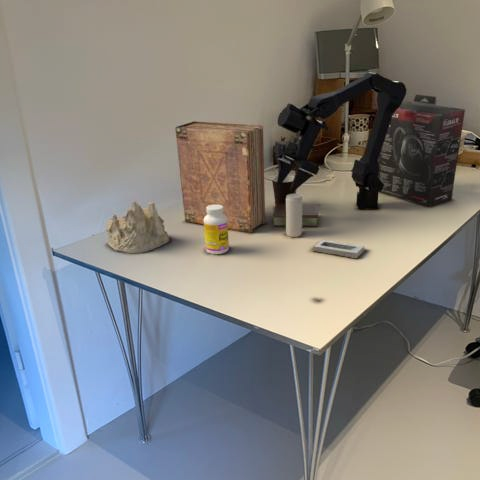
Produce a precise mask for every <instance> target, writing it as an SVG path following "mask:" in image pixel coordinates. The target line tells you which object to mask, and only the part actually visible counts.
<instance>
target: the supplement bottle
mask: <svg viewBox="0 0 480 480" xmlns="http://www.w3.org/2000/svg"><path fill="white" fill-rule="evenodd" d="M206 212H207V215H206V216H205V217H204V225H203V228H204V229H203V230H204V231H203V232H204V244H205V251H206V253H208V254H212V255H222V254H226V253H227V252H228V251H229V249H230V245H229V243H230V241H229V229H228V221H227V217H226V215H224V214H223V206H222V205H217V204H215V205H209V206H207V207H206Z"/></svg>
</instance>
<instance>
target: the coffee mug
mask: <svg viewBox="0 0 480 480" xmlns="http://www.w3.org/2000/svg"><path fill="white" fill-rule="evenodd" d="M294 177H295V175H293V174H292V175H289V174H288V175H287V177H286V178H285V179H284V181H283V182H282V183H281V184H280V185H279V184H277V179H278V175H276V176H274V177H272V178H271V182H272V190H273V197H274V198H273V199H274V205H275V206H276V204H286V196H287V195H288V194H297V189H298V188H297V189H296V190H295V191H294V192H291V191H290V189H291V185H292V182H293V180H294ZM275 206H274V207H275Z"/></svg>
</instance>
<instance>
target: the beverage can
mask: <svg viewBox="0 0 480 480" xmlns="http://www.w3.org/2000/svg"><path fill="white" fill-rule="evenodd" d="M302 204H303V195H302V194H301V193H296V194H288V195H287V196H286V227H285V234H286V236H287V237H290V238H298V237H300V236H302V235H303V227H302Z"/></svg>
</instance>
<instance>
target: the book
mask: <svg viewBox="0 0 480 480" xmlns="http://www.w3.org/2000/svg"><path fill="white" fill-rule="evenodd" d="M174 130H175V135H176V136H175V138H176V145H177V146H176V147H177V157H178V166H179V176H180V186H181V195H182V203H183V213H184V215H183V216H184V221H185V222H186V223H190V224H197V225H203V226H204V217H205V216H206V215H207V212H206V207H207V206H209V205H215V204H217V205H222V206H223V214H224V215H226V217H227V221H228V230H232V231H237V232H243V233H248V234H252V233H253V230H254V229H256V228H257V227H258V226H260V225H265V224H266V198H265V197H266V196H265V195H266V194H265V193H266V191H265V190H266V189H265V158H264V157H265V154H264V153H265V152H264V151H265V150H264V149H265V148H264V146H265V145H264V126H263V125H261V124H244V123H227V122H209V121H195V120H194V121H191V122H187V123H184V124H181V125H177V126H176V127H175V129H174Z"/></svg>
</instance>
